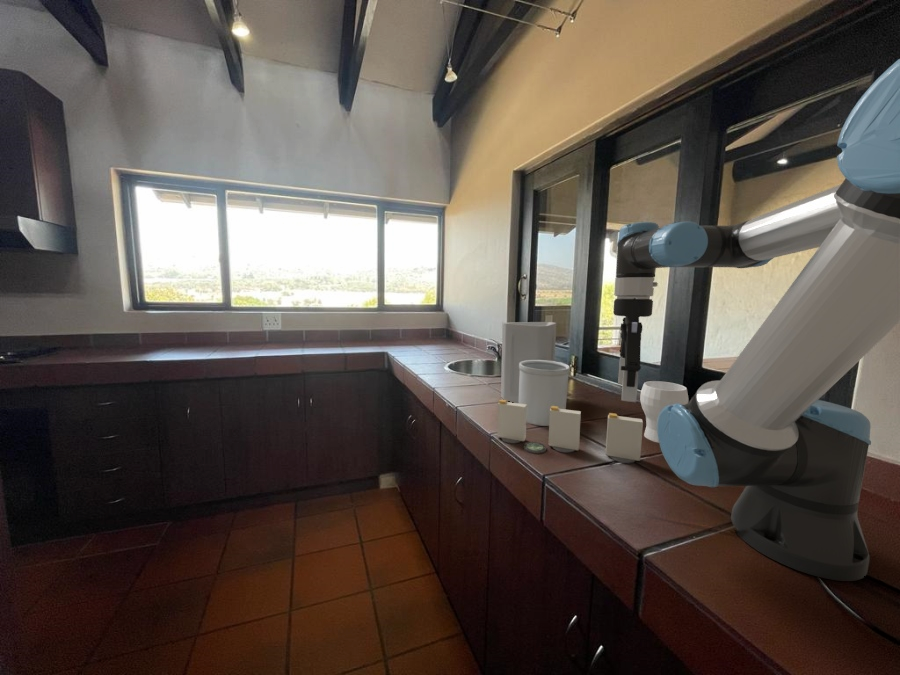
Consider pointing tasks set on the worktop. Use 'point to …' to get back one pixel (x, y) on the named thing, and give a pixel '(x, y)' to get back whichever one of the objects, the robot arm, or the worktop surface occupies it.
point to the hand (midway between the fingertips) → (626, 392)
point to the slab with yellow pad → (624, 438)
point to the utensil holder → (542, 388)
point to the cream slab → (511, 421)
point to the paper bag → (523, 351)
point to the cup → (659, 402)
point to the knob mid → (564, 429)
